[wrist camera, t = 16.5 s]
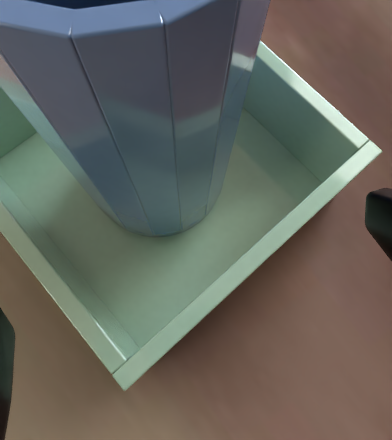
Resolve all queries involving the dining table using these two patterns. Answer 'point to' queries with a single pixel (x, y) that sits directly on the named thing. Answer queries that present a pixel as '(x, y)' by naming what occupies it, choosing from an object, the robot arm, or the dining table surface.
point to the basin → (183, 242)
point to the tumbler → (135, 97)
